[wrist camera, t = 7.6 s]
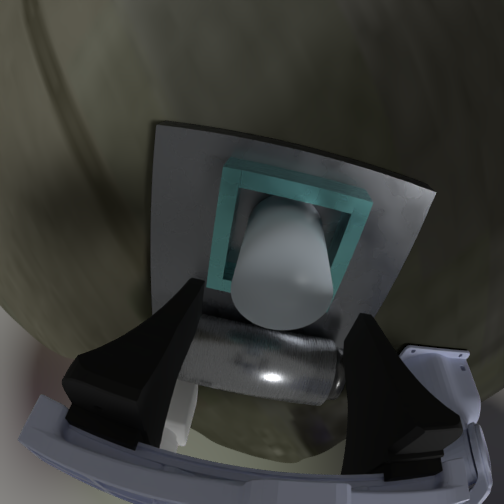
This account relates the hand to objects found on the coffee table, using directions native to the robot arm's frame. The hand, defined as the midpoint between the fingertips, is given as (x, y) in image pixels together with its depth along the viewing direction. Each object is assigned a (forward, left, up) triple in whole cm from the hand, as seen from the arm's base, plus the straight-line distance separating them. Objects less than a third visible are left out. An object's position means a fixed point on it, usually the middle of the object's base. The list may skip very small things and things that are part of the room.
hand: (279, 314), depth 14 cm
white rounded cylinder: (0, 0, -8) cm, 8 cm away
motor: (0, +4, -9) cm, 10 cm away
